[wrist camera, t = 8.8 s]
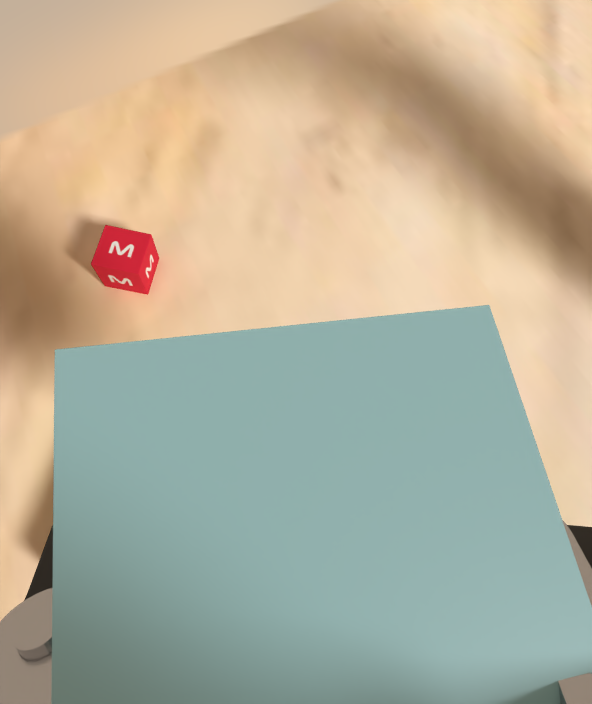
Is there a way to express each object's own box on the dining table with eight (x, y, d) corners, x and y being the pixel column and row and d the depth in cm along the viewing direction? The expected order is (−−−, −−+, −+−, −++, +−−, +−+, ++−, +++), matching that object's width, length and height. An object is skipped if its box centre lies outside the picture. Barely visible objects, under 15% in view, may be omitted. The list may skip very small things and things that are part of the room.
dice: (159, 258, 30) (151, 234, 27) (148, 294, 29) (138, 274, 26) (117, 249, 30) (105, 224, 27) (104, 286, 29) (90, 264, 26)
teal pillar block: (176, 451, 14) (54, 350, 4) (324, 429, 15) (488, 304, 5) (190, 625, 12) (48, 1060, 3) (354, 588, 13) (663, 817, 4)
